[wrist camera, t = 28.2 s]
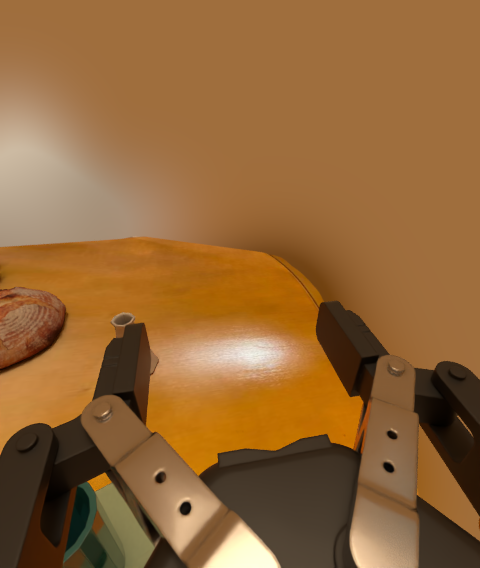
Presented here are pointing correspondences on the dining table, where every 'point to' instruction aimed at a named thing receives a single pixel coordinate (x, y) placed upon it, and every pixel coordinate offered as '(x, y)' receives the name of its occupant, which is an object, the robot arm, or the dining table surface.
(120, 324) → the flask
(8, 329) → the bread
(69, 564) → the cup
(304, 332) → the dining table surface
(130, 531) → the scale
